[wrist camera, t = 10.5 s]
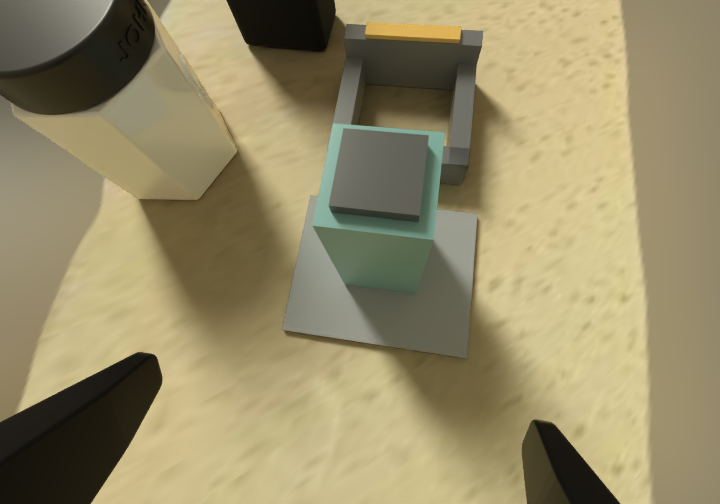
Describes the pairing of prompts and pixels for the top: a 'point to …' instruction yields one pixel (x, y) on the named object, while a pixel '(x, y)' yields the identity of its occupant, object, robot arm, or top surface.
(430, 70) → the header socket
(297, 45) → the battery
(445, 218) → the mat
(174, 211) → the top surface
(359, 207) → the plug
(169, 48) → the jar
